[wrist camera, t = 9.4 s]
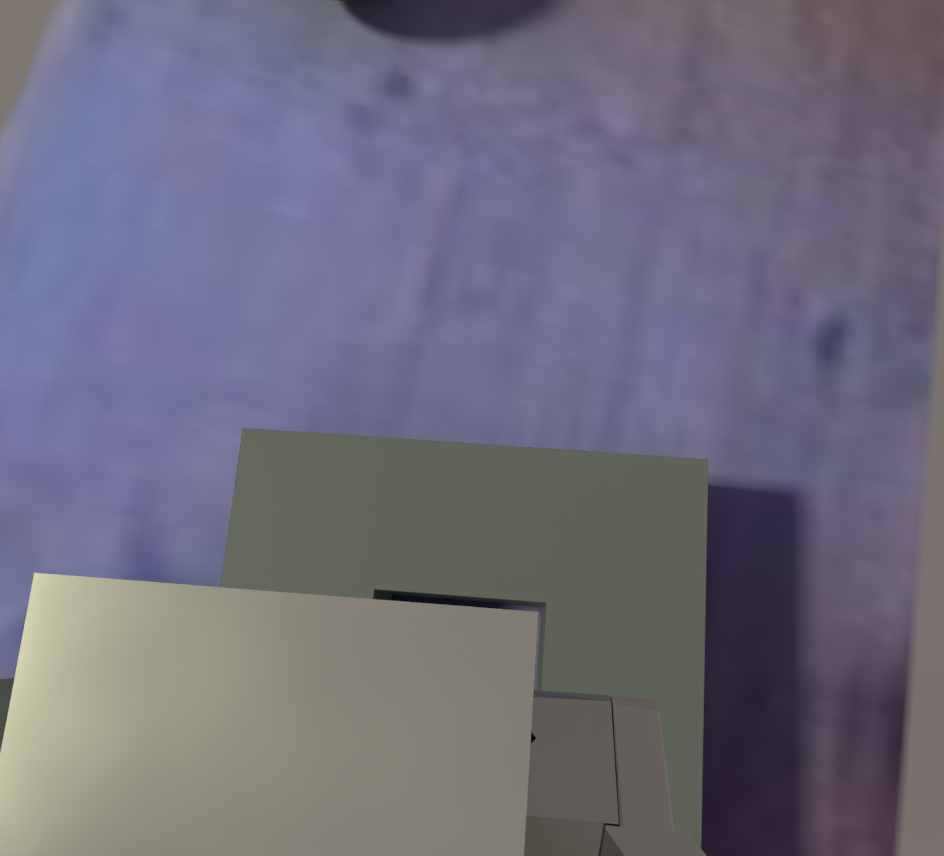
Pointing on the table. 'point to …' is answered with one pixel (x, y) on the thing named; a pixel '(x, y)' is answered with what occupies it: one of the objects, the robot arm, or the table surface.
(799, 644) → the table surface
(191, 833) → the square bit
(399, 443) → the socket block
